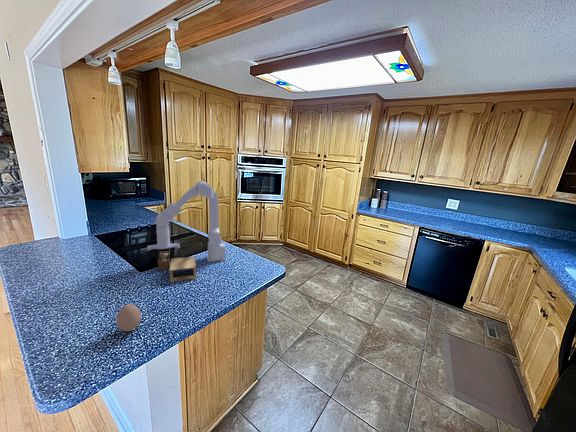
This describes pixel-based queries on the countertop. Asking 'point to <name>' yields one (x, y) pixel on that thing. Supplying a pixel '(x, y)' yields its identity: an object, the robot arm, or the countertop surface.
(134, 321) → the egg
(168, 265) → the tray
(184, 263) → the shelf
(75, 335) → the countertop surface
